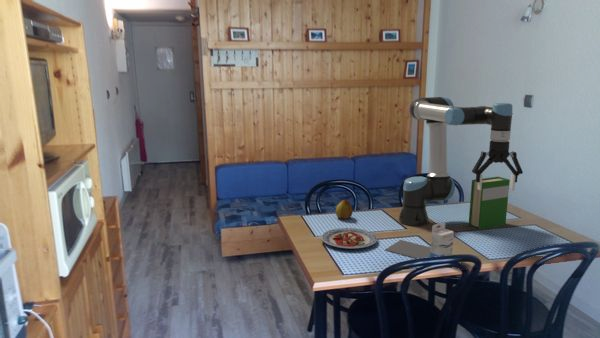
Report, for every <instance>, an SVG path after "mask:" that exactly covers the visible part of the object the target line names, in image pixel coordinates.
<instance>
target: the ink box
mask: <svg viewBox="0 0 600 338" xmlns="http://www.w3.org/2000/svg"><path fill="white" fill-rule="evenodd" d="M454 233H455V232H454V231H453V230H450V229H447V228H446V222H445V221H444V222H439V223H436V224H432V228H431V235H430V247H431V251H430V257H435V256H445V255H452V256H453V245H454Z"/></svg>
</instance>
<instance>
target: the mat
mask: <svg viewBox="0 0 600 338" xmlns="http://www.w3.org/2000/svg"><path fill="white" fill-rule="evenodd" d="M385 250H386V251H387V252H389V251H390V253H393V254H396V253H397V255H400V254H401V255H400V256H404V257H407V256H408V258H412V259H415V260H417V259H416V258H425V257H430V251H431V246H427V245H422V244H419V243H414V242H411V241H407V240H403V239H400V240H398V241H397V242H394V243H393V244H391V245H390V246H388V247H387V248H385V249H384V251H385ZM386 251H385V252H386Z"/></svg>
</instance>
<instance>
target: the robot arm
mask: <svg viewBox="0 0 600 338" xmlns="http://www.w3.org/2000/svg"><path fill="white" fill-rule="evenodd" d="M408 108H409V111H408V112H409V115H410V116H411V118H413V119H415V120H418V121H425V123H426V125H427V127H428V128H429V130H428V132H429V133H428V134H429V136H428V137H429V172H428V174H427V175H426V177H424V176H421V175H420V176H411V177H407V178H406V179H405V180H404V181H403V182H404V183H403V187H402V189H403V190H402V191H403V194H402V196H403V197H402V208H401V211H400V213H399V216H398V221H399V223H402V224H404V225H407V226H412V227H413V226H414V227H418V226H419V227H420V226H422V227H423V226H425V225H428V224H429V221H430V219H429V215H428V212H427V206H426V205H427V202H438V201H447V200H450V199H452V197H453V196H454V194H455V190H456V183H455V180H454V179H453V178H451V174H450V173H449V172H448V167H447V166H448V165H447V164H448V162H447V161H448V159H447V158H448V155H447V154H448V153H447V151H448V149H447V148H448V144H447V143H448V142H447V133H448V131H447V127H448V126H462V125H463V126H465V125H467V126H468V125H489V126H490V135H489V136H490V137H489V138H490V139H489V148H488V149H489V150H488V152H487V151H486V152H485V151H481V152H480V156H479V158H478V160H477V162H476V163H475V165H474V166H473V168H472V170H471V172H472V173H473V174H474V175H475V179H476V182H478V187H477V189H478V190H481V188H482V179H483V175H482V174H483V172H485V171H486V169H487V168H488V167H489V166H490V165H491V164H494V163H496V164H497V163H501V164H502V163H504V164H505V165H506V167H507V168H508V169H509V170H510V171H511V174H510V183H509V190H510V191H514V192H515V184H516V183H517V182H518V176H520V175H522V174H523V173H524V172H523V170H522V167H521V164H520V163H519V162H520V161H519V160H518V158H517V157H518V156H517V152H515V151H511V152H510V151H509V150H510V139H511V130H512V129H511V128H512V120H513V104H512V103H508V102H506V103H505V102H496V103H495V102H494V103H493V105H492V106H485V105H480V106H467V107H466V106H455V105H454V103H453V101H452V100H451V99H450V98H449V97H446V96H444V97H443V96H434V97H429V96H428V97H418V98H416V99H414V100H413V101H412V102H411V103H410V105H409V107H408ZM487 157H488V158H487ZM509 157H510V158H511V160H512V161H513V165H514V166H513V165H512V164H511V162H510V161H509V159H508V158H509ZM486 158H487V159H486ZM485 159H486V161H485ZM484 161H485V162H484ZM483 162H484V163H483Z"/></svg>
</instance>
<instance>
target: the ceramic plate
mask: <svg viewBox="0 0 600 338" xmlns="http://www.w3.org/2000/svg"><path fill="white" fill-rule="evenodd" d="M320 238H321V240H322V242H324V243H325V244H326V245H329V246H332V247H335V248H341V249H348V250H349V249H351V250H352V249H363V248H367V247H370V246H372V245H374V244H376V243H377V241H378V237H377V236H376V234H374V233H373V232H371V231H368V230H365V229H361V228H354V227H340V228H333V229H330V230H327V231H325V232H323V233H322V234H321V237H320Z"/></svg>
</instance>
